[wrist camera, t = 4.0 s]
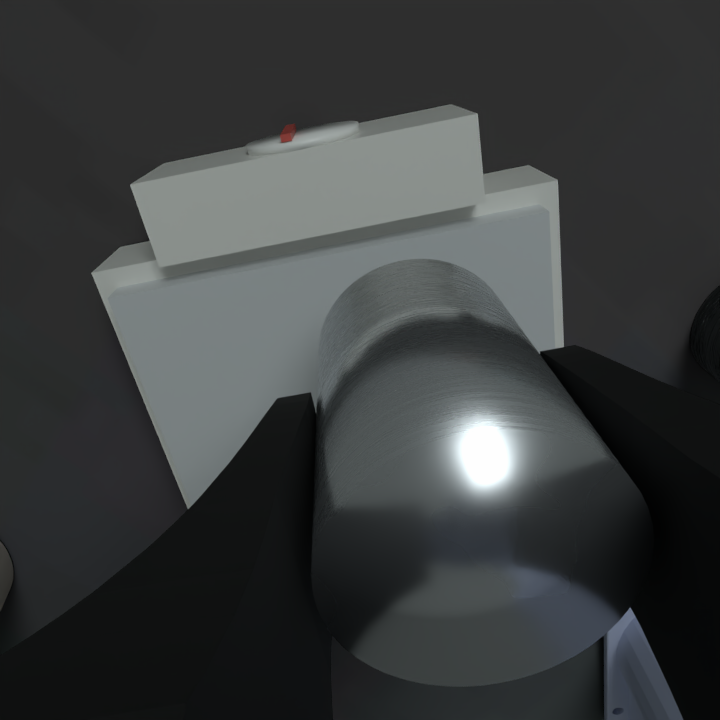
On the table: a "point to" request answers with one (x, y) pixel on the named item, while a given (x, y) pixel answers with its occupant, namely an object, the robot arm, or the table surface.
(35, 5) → the table surface
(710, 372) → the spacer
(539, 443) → the cylinder
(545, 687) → the table surface
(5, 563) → the coffee cup
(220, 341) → the grey flat ridged box
